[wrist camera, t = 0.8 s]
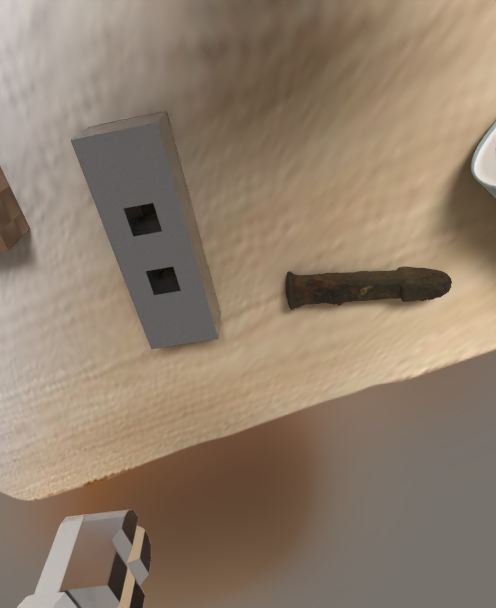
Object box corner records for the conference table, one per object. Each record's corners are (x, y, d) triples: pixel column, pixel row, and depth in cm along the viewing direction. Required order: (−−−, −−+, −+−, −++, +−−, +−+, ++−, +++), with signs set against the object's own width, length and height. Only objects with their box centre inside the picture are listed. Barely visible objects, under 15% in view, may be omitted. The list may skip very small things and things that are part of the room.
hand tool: (284, 296, 57) (287, 317, 53) (285, 267, 55) (288, 287, 51) (439, 291, 56) (454, 312, 52) (446, 262, 54) (461, 281, 50)
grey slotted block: (88, 127, 46) (70, 140, 41) (166, 110, 45) (156, 122, 40) (159, 322, 58) (151, 349, 54) (220, 312, 58) (218, 338, 53)
